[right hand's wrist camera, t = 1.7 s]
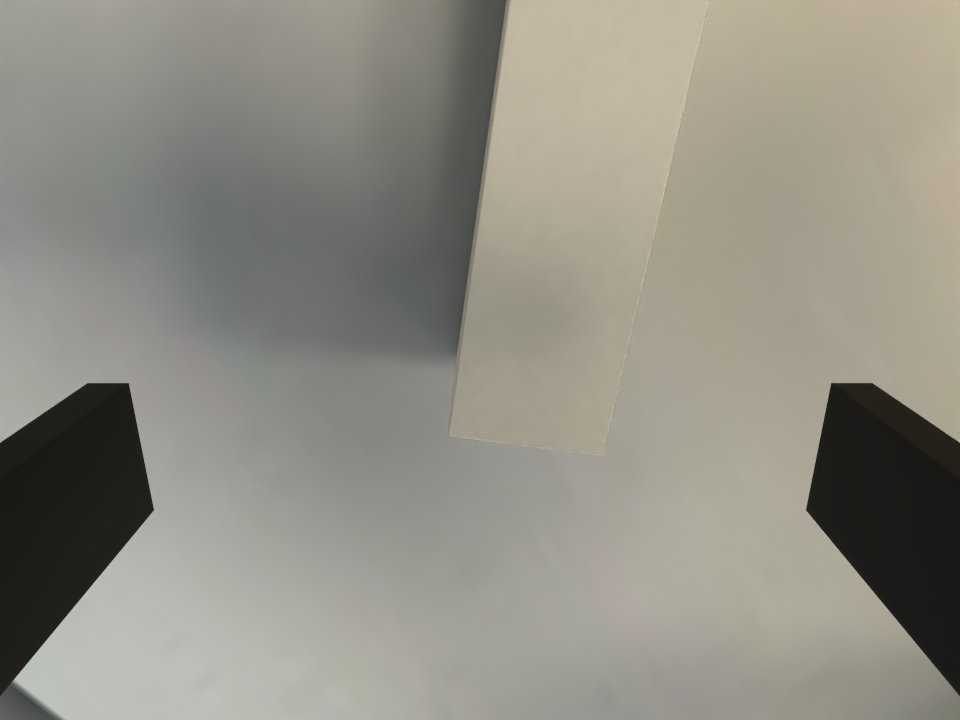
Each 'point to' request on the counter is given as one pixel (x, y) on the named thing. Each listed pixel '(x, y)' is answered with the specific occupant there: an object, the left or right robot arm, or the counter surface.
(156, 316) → the counter surface
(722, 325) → the counter surface
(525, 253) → the beam
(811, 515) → the right robot arm
